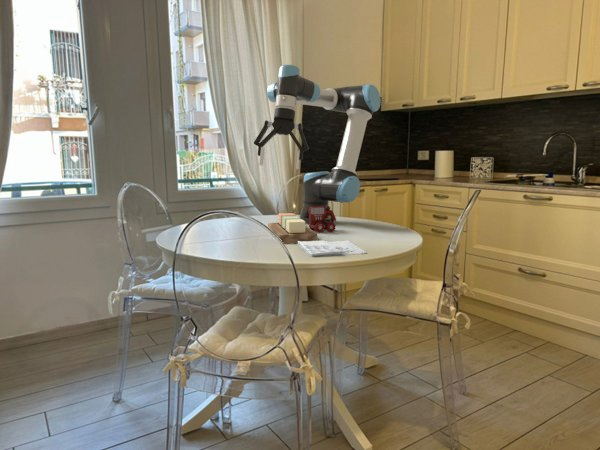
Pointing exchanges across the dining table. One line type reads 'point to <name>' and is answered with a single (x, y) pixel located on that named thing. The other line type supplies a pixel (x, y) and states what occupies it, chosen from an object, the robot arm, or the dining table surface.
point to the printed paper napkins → (330, 248)
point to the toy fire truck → (321, 219)
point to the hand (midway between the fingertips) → (278, 167)
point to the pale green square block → (287, 219)
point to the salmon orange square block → (283, 215)
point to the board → (292, 234)
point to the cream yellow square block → (295, 226)
